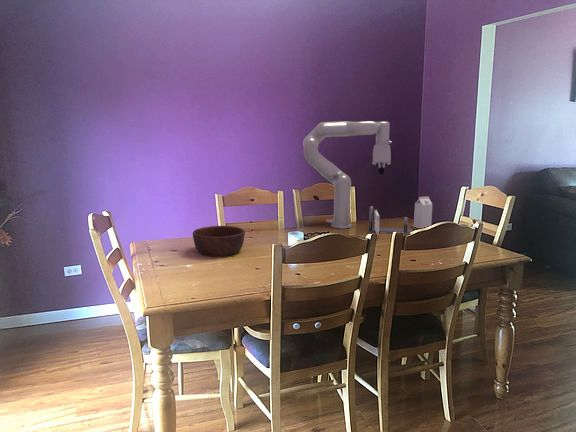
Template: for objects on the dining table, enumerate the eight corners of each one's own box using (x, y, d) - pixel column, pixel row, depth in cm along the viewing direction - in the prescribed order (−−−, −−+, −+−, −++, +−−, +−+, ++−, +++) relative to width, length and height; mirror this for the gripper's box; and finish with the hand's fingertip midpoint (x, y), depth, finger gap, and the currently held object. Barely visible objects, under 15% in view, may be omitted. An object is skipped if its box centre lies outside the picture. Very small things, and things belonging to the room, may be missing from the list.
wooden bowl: (236, 260, 231) (235, 238, 229) (185, 257, 236) (184, 235, 234) (251, 246, 255) (250, 226, 253) (204, 244, 260) (203, 224, 258)
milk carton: (413, 228, 297) (415, 196, 293) (423, 227, 300) (424, 195, 296) (421, 230, 291) (423, 198, 287) (431, 229, 294) (433, 197, 290)
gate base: (367, 232, 285) (368, 207, 283) (368, 229, 294) (369, 205, 291) (412, 234, 281) (414, 209, 278) (412, 231, 289) (413, 206, 286)
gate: (373, 227, 290) (373, 209, 288) (376, 227, 289) (377, 209, 287) (375, 234, 271) (376, 215, 269) (379, 235, 271) (380, 216, 269)
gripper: (394, 142, 296) (392, 173, 299) (368, 142, 296) (367, 173, 300) (396, 143, 288) (395, 175, 292) (370, 143, 289) (369, 175, 292)
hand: (381, 174), depth 296 cm, fingers closed
